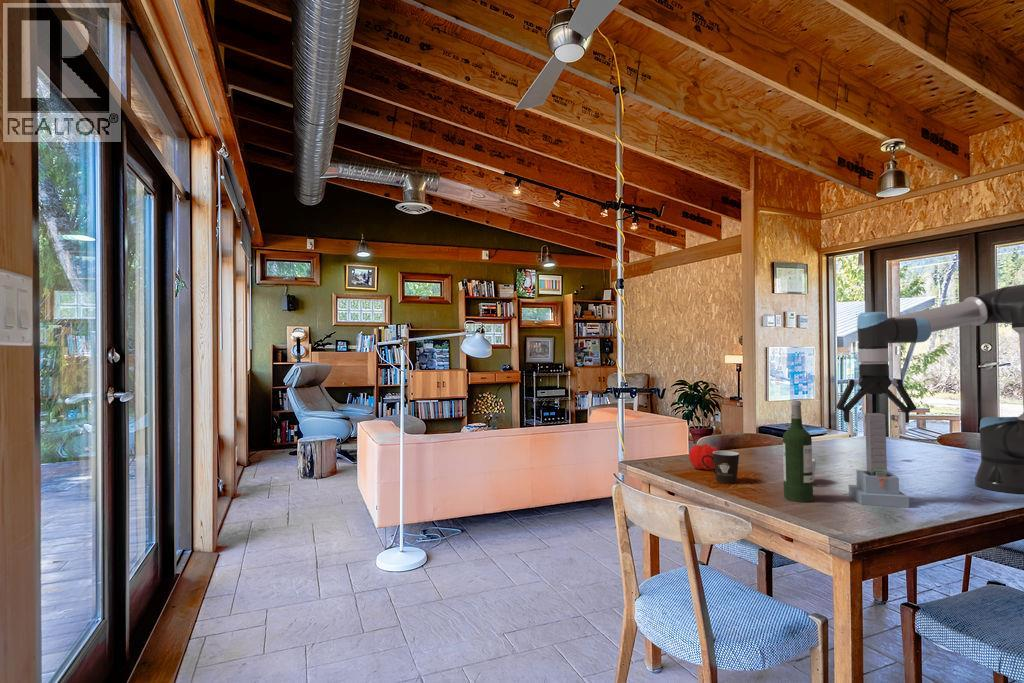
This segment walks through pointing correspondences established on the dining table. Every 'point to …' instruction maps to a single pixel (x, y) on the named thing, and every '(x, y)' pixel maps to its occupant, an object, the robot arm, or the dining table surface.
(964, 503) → the dining table surface
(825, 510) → the dining table surface
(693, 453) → the red rounded lump
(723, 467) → the coffee mug
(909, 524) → the dining table surface
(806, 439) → the wine bottle
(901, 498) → the stand base
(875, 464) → the column
